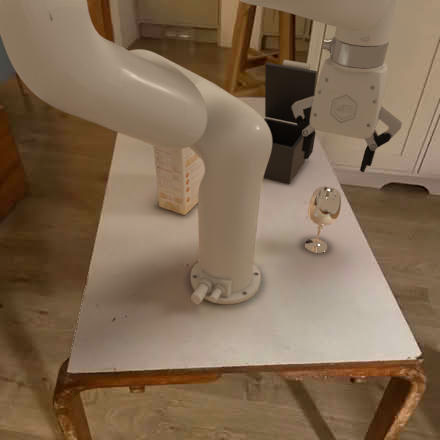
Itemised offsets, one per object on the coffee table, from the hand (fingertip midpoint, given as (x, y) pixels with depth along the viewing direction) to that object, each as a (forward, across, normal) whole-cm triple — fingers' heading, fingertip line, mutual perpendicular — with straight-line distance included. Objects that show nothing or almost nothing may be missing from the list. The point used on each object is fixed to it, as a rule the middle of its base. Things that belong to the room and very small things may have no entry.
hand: (335, 162), depth 76 cm
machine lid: (+3, -18, +30) cm, 35 cm away
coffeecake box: (+18, -31, +5) cm, 36 cm away
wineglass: (+18, 0, 0) cm, 18 cm away
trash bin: (+18, -18, +26) cm, 36 cm away
